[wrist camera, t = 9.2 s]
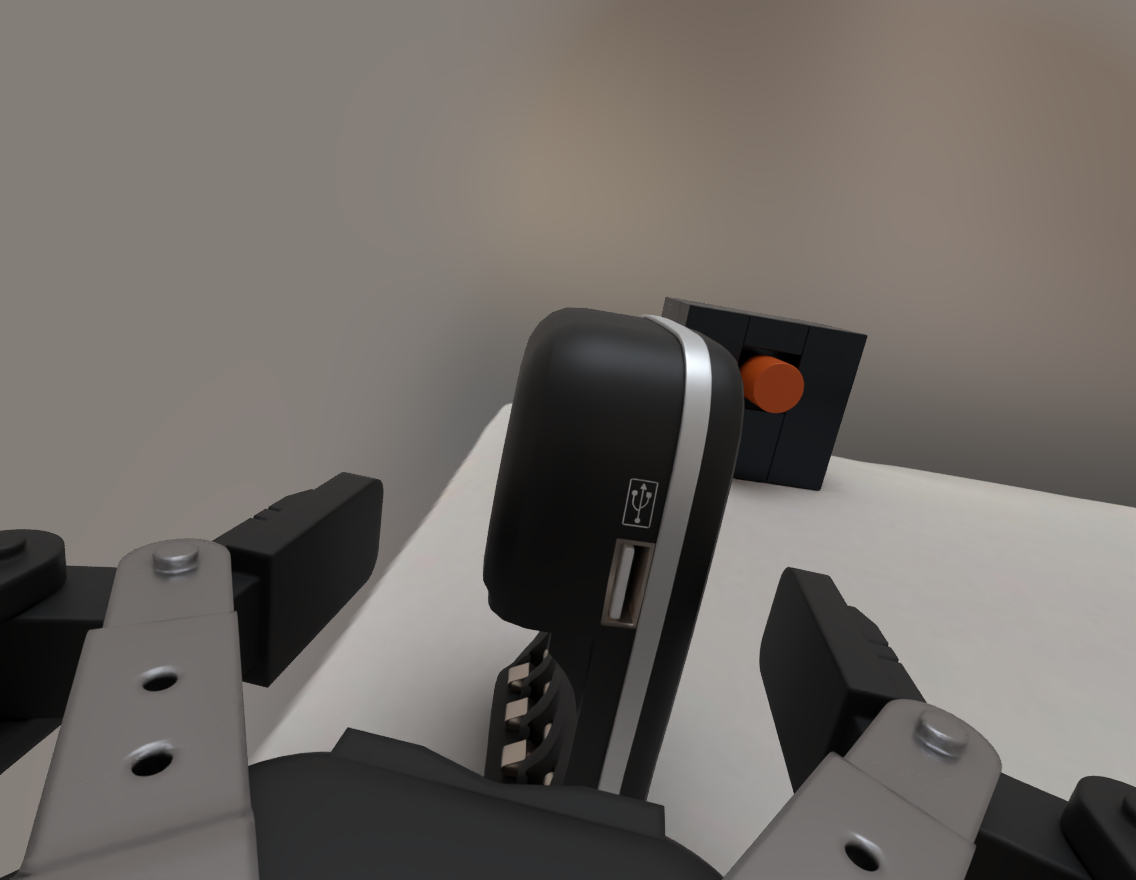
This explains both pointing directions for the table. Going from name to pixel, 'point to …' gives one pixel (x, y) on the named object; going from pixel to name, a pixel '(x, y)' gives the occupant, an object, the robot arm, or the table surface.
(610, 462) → the battery charger
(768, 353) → the control box
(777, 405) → the knob
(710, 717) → the table surface
